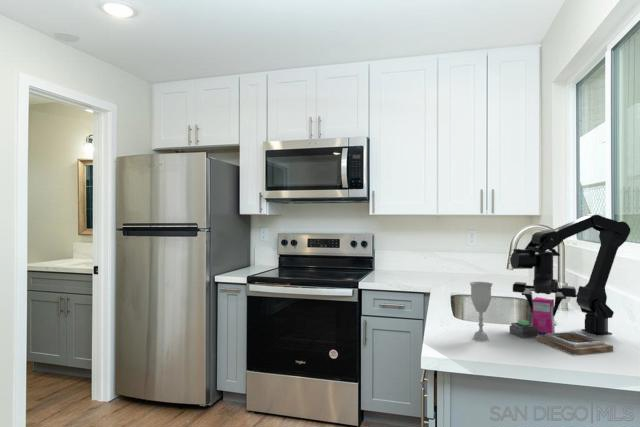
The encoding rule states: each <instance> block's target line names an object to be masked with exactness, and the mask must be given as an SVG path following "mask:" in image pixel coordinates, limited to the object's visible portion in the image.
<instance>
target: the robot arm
mask: <svg viewBox="0 0 640 427" xmlns="http://www.w3.org/2000/svg"><path fill="white" fill-rule="evenodd" d="M590 229H593V230H595V231H597V232H598V237H599V242H600V246H599V249H598V253H597V256H596V258H595V261H594V264H593V267H592V270H591V274H590V276H589V280H588V282H587V283H586V284H585V286H582V285H579V287H578V289H576V287H575V286H571V285H569V286H568V285H561V287H559V284H558V283H559V282H558V281H559V279H555V278H554V257H560V256H561V254H560V253H559V252H558V251H556V249H555V248H556V247H558V246H559V245H561V243H562V242H564V240H566V239H568V238H571V237H573V236H575V235H578V234H580V233H582V232H585V231H587V230H590ZM630 234H631V227H630V225H629V224H628V223H627V222H626V221H621V220H619V221H618V220H616V219H612V218H608V217H604V216H602V215H600V214H597V213H589V214H586V215H584V216H582V217H579V218H578V219H575V220H573V221H571V222H568V223H565V224H563V225H561V226H559V227H556V228H551V229H545V230H540V231H536V232H535V233H533V234H532V237H531V240H530V241H529V242H528V243H527V245H526V247H525V248H523V249H521V248H513V252H512V254H511V256H510V258H509V260H510V261H509V262H510V265H511V268H512V269H514V270H523V269H524V270H532V269H533V280H532V283H533V285H530V284H529V285H528V284H527V282H522V281H521V282H520V281H515V282H514V283H513V284H512V292H513V293H519V294H520V293H521V295H522V296H525V298H526V301H527V302H528V305H529V308H530V311H531V313H532V315H533V303H532V300H533V299H534V298H533V292H534V293H535V294H545V295H551V294H552V293H553V294H555V298H554V311H553V316H554V317H555V316H556V314H557V311H558V308H559V306H560V304H561V302H562V301H563V300H566V299H567V298H576V300H575V301H576V303H577V305H578V306H579V308H580V311H581V313H585V314H584V315H585V316H584V317H585V318H584V328H582V329H581V332H586V333H588V334H592V335H594V336H605V335H606V336H607V335H610V336H612V335H613V333H612V332H609V319H612V318H613V316H614V313H615V312H614V310H612V308H610V307H609V305H608V304H607V299H608V295H607V292H606V286H607V283H608V279H609V276H610V273H611V270H612V268H613V264H614V262H615V258H616V255H617V253H618V250H619V248H620V247H622V245H623V244H624V243H625V242H627V240H628V237H629V235H630ZM577 290H578V291H577Z"/></svg>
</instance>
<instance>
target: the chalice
mask: <svg viewBox="0 0 640 427" xmlns="http://www.w3.org/2000/svg"><path fill="white" fill-rule="evenodd" d="M469 284H470V299H471V301H472V305H473V307H474V309H475V311H476V312H478V313H479V314H478V315H479V316H478V318H477V319H478V321H479V322H478V323H477V325H478V327H479V328H478V329H479V330H477V331H475V332H474V334H473V338H472V339H473V340H475V341H478V342H488V341H490V339H489V336H488V334H487V332H485V331H484V330H483V326H484V322H483V320H484V317H483V314H484V313H485V312H486V311H487V309H488V307H489V306H490V303H491V301H492V286H493V284H494V283H492V282H487V281H471V282H469Z"/></svg>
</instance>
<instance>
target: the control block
mask: <svg viewBox="0 0 640 427" xmlns="http://www.w3.org/2000/svg"><path fill="white" fill-rule="evenodd" d="M509 334H511V335H513V336H516V337H518V338H521V339H529V338H530V339H531V338H537V336H539V333H538V329H536V326H534V325H533V324H531V323H529V326H521V325H518V322H511V324H510V325H509Z"/></svg>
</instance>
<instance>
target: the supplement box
mask: <svg viewBox="0 0 640 427" xmlns="http://www.w3.org/2000/svg"><path fill="white" fill-rule="evenodd" d="M532 303H533V314H532V325H534V326H536V329H538V335H539V334H540V335H545V334H546V333H556V331H555V330H556V328H555V316H553V311H554V305H555V298H550V297H543V296H542V297H540V296H535V297H534V298H533V300H532Z"/></svg>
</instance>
